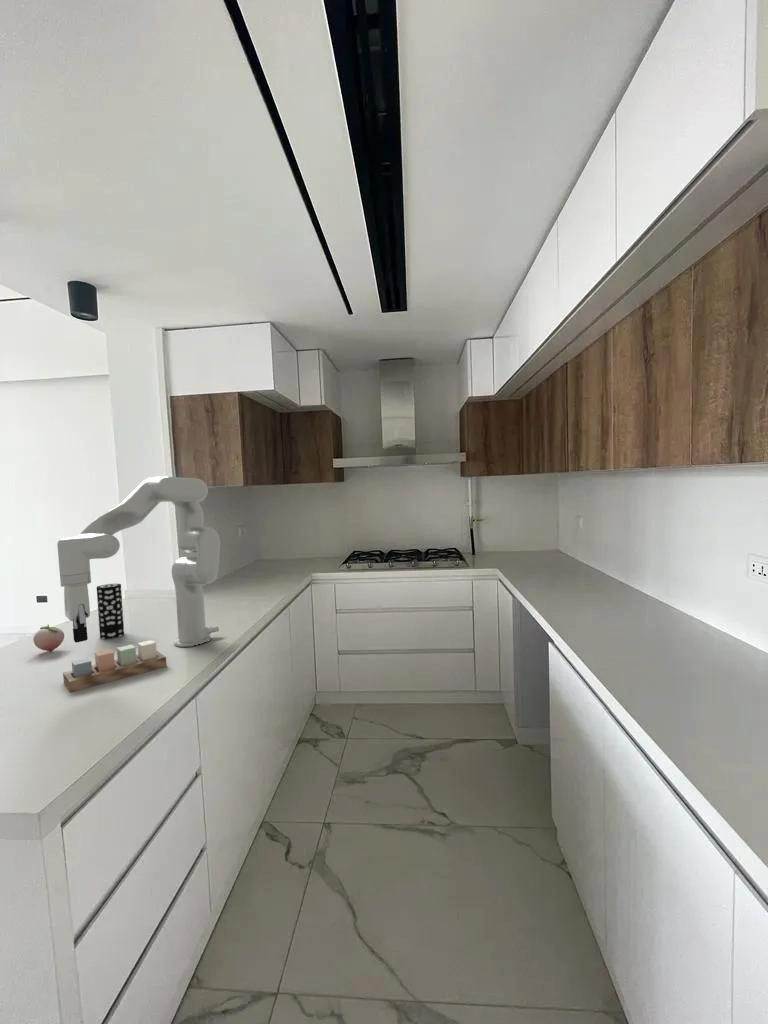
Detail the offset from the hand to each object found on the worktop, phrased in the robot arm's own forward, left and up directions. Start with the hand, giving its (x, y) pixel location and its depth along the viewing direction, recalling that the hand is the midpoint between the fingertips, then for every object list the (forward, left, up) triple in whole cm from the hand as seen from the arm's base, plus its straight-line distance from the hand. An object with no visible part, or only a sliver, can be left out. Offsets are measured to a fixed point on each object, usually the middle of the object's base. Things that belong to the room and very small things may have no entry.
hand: (80, 640), depth 139 cm
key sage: (-12, 0, -10) cm, 16 cm away
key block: (-9, 0, -13) cm, 15 cm away
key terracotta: (-6, 0, -10) cm, 12 cm away
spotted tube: (-18, -47, -13) cm, 52 cm away
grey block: (0, 0, -11) cm, 11 cm away
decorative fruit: (+3, -43, -13) cm, 45 cm away
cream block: (-18, 0, -10) cm, 20 cm away
